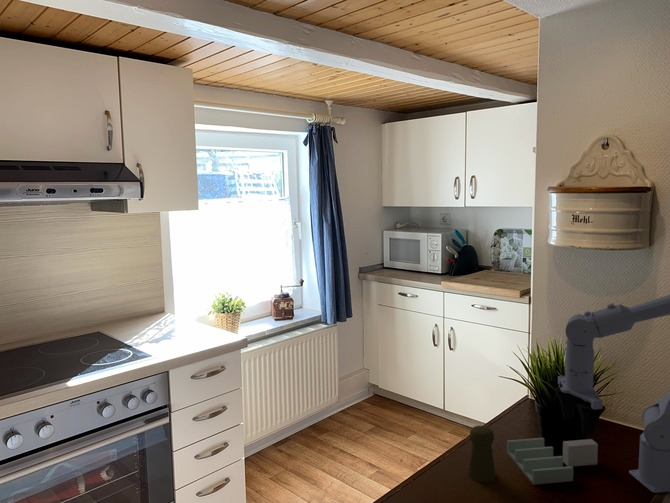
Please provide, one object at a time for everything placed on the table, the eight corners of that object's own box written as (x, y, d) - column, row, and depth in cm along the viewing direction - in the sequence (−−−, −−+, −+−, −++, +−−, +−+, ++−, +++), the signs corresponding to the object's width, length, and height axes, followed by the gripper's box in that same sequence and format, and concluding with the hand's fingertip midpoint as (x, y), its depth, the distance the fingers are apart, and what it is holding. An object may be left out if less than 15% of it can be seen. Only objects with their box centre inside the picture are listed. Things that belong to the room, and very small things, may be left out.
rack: (542, 449, 126) (543, 437, 126) (573, 481, 113) (573, 467, 113) (507, 452, 126) (507, 440, 125) (533, 484, 112) (533, 471, 112)
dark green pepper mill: (488, 485, 112) (488, 437, 111) (462, 476, 116) (462, 429, 115) (500, 473, 117) (500, 427, 116) (475, 464, 121) (475, 419, 119)
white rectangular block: (591, 459, 122) (591, 439, 121) (597, 464, 119) (597, 444, 119) (562, 461, 121) (563, 441, 120) (568, 467, 119) (568, 446, 118)
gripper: (546, 359, 123) (545, 413, 125) (580, 382, 109) (579, 443, 111) (574, 357, 124) (572, 411, 126) (612, 379, 109) (610, 440, 111)
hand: (577, 426), depth 118 cm, fingers open, 7 cm apart
